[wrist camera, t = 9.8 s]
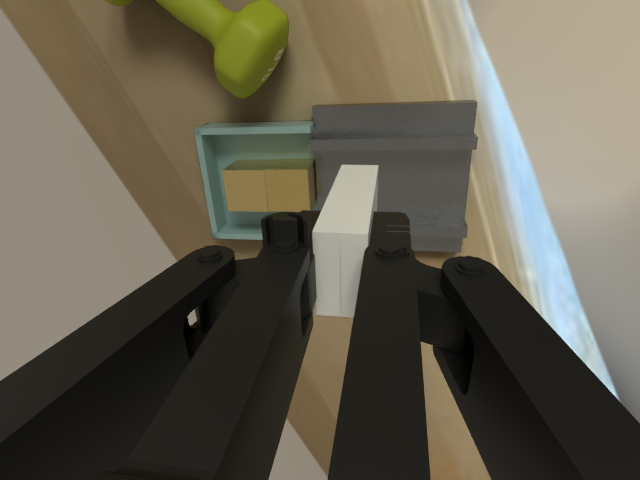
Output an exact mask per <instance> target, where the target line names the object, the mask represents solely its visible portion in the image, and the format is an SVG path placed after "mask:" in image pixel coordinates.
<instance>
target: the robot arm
mask: <svg viewBox="0 0 640 480" xmlns="http://www.w3.org/2000/svg"><path fill="white" fill-rule="evenodd" d="M377 197H378V165H341V168H340V170H339V172H338V174H337V177H336V179H335V181H334V183H333V186H332V188H331V190H330V192H329V195H328V197H327V199H326V202H325V204H324V206H323V208H322V211H312V210H302V211H300V212H299V213H298V212H277V213H272V214H270V215H267V216H265V217H263V218H262V219H261V228H262V238H263V248H262V250H261V251H260V253H259V254H258V256H257V257H256V258H250V259H242V260H235V256H234V251H233V250H231V249H230V248H228V247H225V246H217V245H212V246H205V247H204V248H201V249H197V250H195V251H193V252H191V253H190V254H188V255H187V256H185V257H184V258H182V259H181V260H179V261H178V262H176V263H175V264H173V265H172V266H170V267H169V268H167V269H166V270H164V271H163V272H162V273H160V274H159V275H157V276H156V277H154V278H153V279H151V280H150V281H148V282H147V283H145V284H144V285H143V286H141V287H139V288H138V289H136V290H135V291H133V292H132V293H130V294H129V295H127V296H126V297H124V298H123V299H121V300H120V301H118V302H117V303H116V304H114V305H113V306H111V307H110V308H108V309H107V310H105V311H104V312H102V313H101V314H99V315H98V316H96V317H95V318H93V319H92V320H90V321H89V322H87V323H86V324H85V325H83V326H81V327H80V328H78V329H77V330H75V331H74V332H72V333H71V334H69V335H68V336H66V337H65V338H64V339H62V340H61V341H59V342H58V343H56V344H55V345H53V346H52V347H50V348H49V349H47V350H46V351H44V352H43V353H41V354H40V355H38V356H37V357H35V358H34V359H33V360H31V361H30V362H28V363H26V364H25V365H23V366H22V367H20V368H19V369H18V370H16V371H15V372H13V373H12V374H10V375H9V376H7V377H6V378H4V379H3V380H1V381H0V480H268V479H269V475H270V472H271V469H272V465H273V462H274V458H275V455H276V451H277V448H278V444H279V441H280V437H281V434H282V431H283V427H284V424H285V420H286V417H287V413H288V410H289V406H290V403H291V400H292V396H293V393H294V389H295V386H296V382H297V379H298V375H299V372H300V368H301V365H302V362H303V358H304V355H305V351H306V348H307V344H308V341H309V337H310V334H311V331H312V327H313V311H312V310H313V307H314V304H315V303H316V315H327V316H340V317H353V318H354V319H353V325H352V332H351V338H350V344H349V350H348V356H347V363H346V369H345V375H344V381H343V387H342V394H341V400H340V406H339V412H338V418H337V425H336V431H335V437H334V443H333V449H332V456H331V462H330V468H329V474H328V480H430V466H429V452H428V439H427V425H426V411H425V397H424V383H423V369H422V355H421V342H424V343H428V344H431V345H433V352H434V356H435V358H436V360H437V362H438V364H439V367H440V369H441V371H442V373H443V375H444V377H445V380H446V382H447V384H448V386H449V388H450V390H451V392H452V395H453V397H454V399H455V401H456V403H457V405H458V408H459V410H460V412H461V414H462V416H463V418H464V421H465V423H466V425H467V427H468V429H469V431H470V434H471V436H472V438H473V440H474V442H475V444H476V447H477V449H478V451H479V453H480V455H481V457H482V459H483V462H484V464H485V466H486V468H487V470H488V472H489V475H490V477H491V479H492V480H640V423H639V422H638V421H637V420H636V419H635V418H634V417H633V416H632V415H631V414H630V413H629V411H628V410H627V409H626V408H625V407H624V406H623V405H622V404H621V403H620V402H619V400H618V399H617V398H616V397H615V396H614V395H613V394H612V393H611V392H610V391H609V390H608V388H607V387H606V386H605V385H604V384H603V383H602V382H601V381H600V380H599V379H598V378H597V376H596V375H595V374H594V373H593V372H592V371H591V370H590V369H589V368H588V367H587V366H586V365H585V363H584V362H583V361H582V360H581V359H580V358H579V357H578V356H577V355H576V354H575V353H574V351H573V350H572V349H571V348H570V347H569V346H568V345H567V344H566V343H565V342H564V341H563V340H562V338H561V337H560V336H559V335H558V334H557V333H556V332H555V331H554V330H553V329H552V328H551V326H550V325H549V324H548V323H547V322H546V321H545V320H544V319H543V318H542V317H541V316H540V314H539V313H538V312H537V311H536V310H535V309H534V308H533V307H532V306H531V305H530V304H529V303H528V301H527V300H526V299H525V298H524V297H523V296H522V295H521V294H520V293H519V292H518V291H517V289H516V288H515V287H514V286H513V285H512V284H511V283H510V282H509V281H508V280H507V279H506V277H505V276H504V275H503V274H502V273H501V272H500V271H499V270H498V269H497V268H496V267H495V266H494V265H492V264H491V263H489V262H487V261H485V260H482V259H480V258H477V257H475V258H474V257H472V256H466V257H462V256H460V257H454V258H450V259H448V260H446V261H445V262H444V263H443V265H442V269H439V268H435V267H431V266H428V265H425V264H423V263H421V262H419V261H418V260H416V259H415V258H414V252H413V250H412V249H411V235H410V220H409V218H408V217H407V216H406V215H405V214H404V213H403V212H378V211H377ZM194 309H195V313H196V317H197V321H196V322H195V323H194V324H193V325H191V326H190V325H189V323H188V318H187V316H188V315H189V314H190V312H192V311H193V310H194Z"/></svg>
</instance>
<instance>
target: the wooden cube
mask: <svg viewBox="0 0 640 480" xmlns="http://www.w3.org/2000/svg"><path fill="white" fill-rule="evenodd" d="M264 175H265V184H266V193H267V202H268V211H279V212H300V211H302V210H312V208H313V206H314V204H315V202H316V201H317V181H316V163H315V159H275V160H274V161H273V162H272V163H271V164H270V165H269V166H267V167H266V168H265V169H264Z"/></svg>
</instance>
